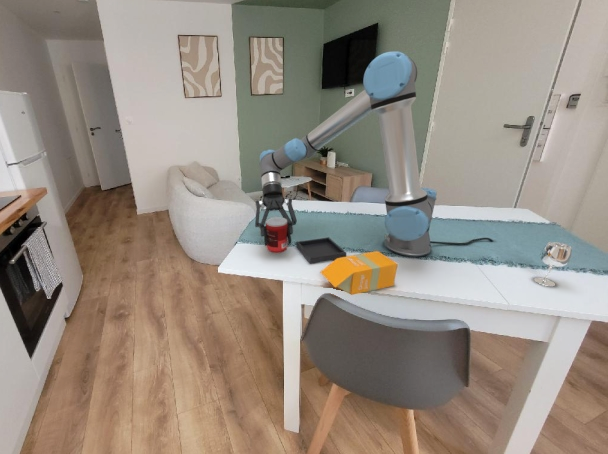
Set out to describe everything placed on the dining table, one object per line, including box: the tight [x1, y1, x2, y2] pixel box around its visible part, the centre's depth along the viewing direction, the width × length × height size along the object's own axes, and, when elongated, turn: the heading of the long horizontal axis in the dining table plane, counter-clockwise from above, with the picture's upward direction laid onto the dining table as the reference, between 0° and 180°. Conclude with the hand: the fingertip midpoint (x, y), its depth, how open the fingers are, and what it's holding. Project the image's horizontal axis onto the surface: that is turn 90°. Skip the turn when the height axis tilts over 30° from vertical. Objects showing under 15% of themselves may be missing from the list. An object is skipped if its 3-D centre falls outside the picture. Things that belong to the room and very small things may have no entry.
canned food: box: [265, 216, 288, 254], centre depth 105 cm, size 8×8×11 cm
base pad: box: [295, 236, 347, 265], centre depth 108 cm, size 14×14×2 cm
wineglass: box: [533, 241, 573, 287], centre depth 83 cm, size 6×6×12 cm
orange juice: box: [319, 250, 398, 296], centre depth 87 cm, size 8×9×20 cm
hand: (278, 243), depth 102 cm, fingers closed on canned food, 8 cm apart
